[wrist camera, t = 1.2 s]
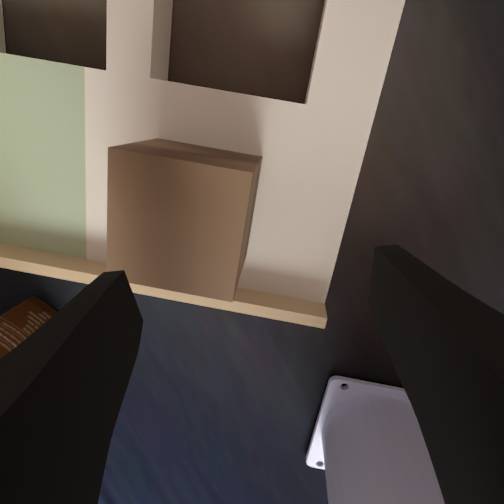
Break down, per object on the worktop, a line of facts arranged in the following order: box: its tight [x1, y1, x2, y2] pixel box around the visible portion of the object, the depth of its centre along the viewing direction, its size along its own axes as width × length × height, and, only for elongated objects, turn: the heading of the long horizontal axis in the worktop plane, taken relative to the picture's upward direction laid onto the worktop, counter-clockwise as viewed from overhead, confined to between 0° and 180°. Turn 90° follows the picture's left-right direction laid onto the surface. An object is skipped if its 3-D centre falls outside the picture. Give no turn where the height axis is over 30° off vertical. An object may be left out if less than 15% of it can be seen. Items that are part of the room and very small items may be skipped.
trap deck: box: [0, 0, 405, 329], centre depth 16 cm, size 20×18×5 cm
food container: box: [0, 296, 57, 359], centre depth 21 cm, size 12×6×10 cm, turn 151°
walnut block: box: [106, 138, 263, 302], centre depth 15 cm, size 5×5×5 cm
